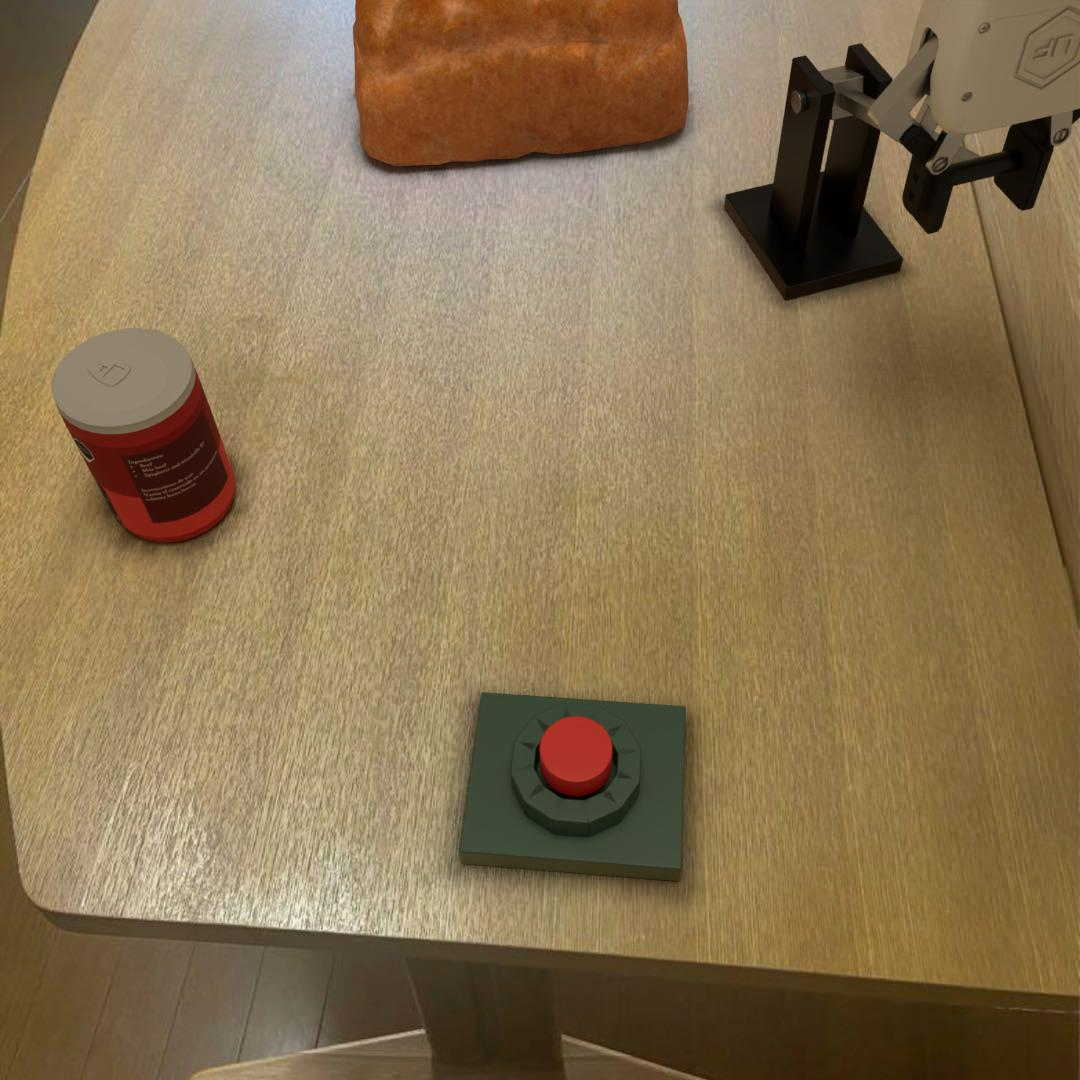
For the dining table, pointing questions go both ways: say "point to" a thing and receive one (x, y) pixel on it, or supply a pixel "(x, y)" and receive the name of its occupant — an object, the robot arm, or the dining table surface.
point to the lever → (964, 161)
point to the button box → (576, 821)
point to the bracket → (818, 190)
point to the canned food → (146, 432)
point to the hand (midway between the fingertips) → (967, 204)
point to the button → (576, 756)
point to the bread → (515, 77)
